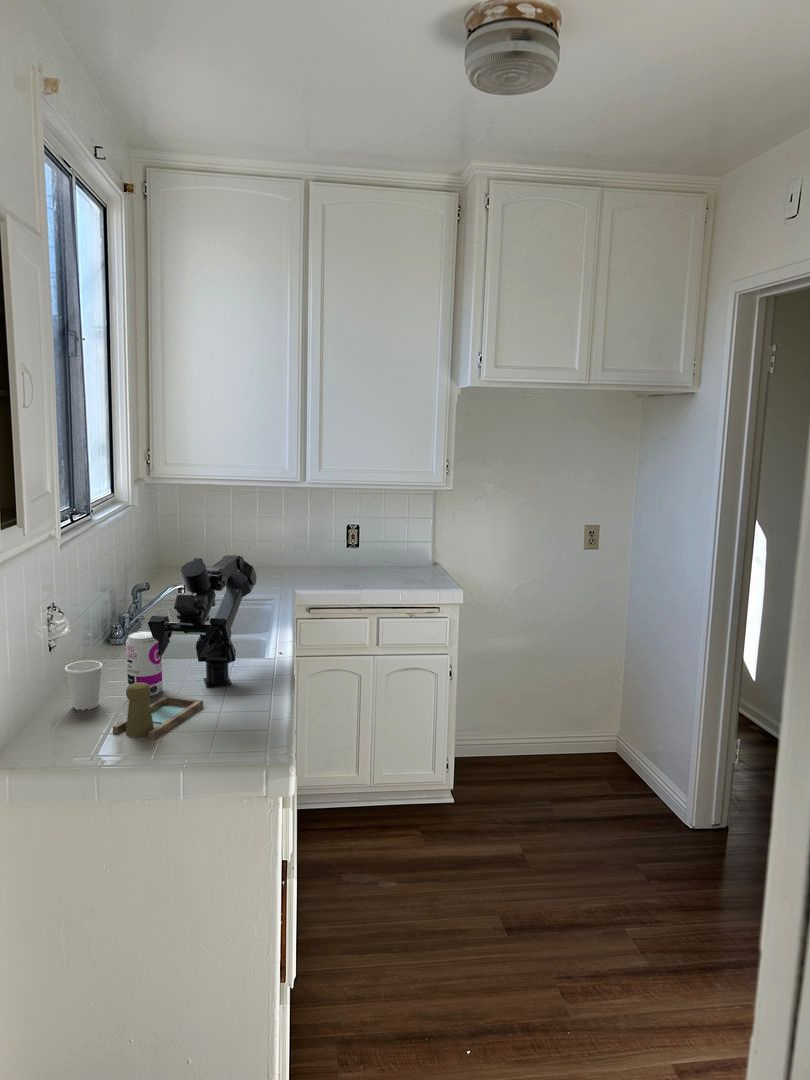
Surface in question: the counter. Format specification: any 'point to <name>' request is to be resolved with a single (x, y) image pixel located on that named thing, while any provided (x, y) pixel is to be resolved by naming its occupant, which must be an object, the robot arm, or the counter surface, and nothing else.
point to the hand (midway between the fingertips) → (179, 656)
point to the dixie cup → (84, 683)
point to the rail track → (166, 714)
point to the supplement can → (144, 661)
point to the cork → (139, 710)
